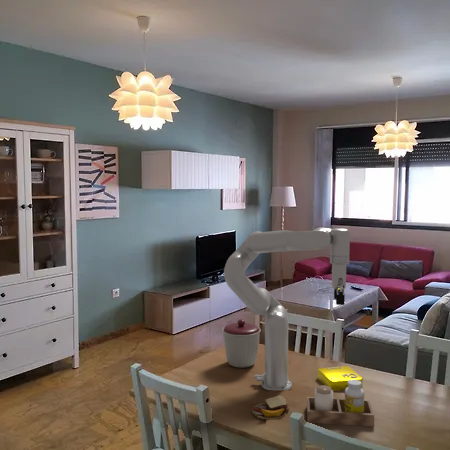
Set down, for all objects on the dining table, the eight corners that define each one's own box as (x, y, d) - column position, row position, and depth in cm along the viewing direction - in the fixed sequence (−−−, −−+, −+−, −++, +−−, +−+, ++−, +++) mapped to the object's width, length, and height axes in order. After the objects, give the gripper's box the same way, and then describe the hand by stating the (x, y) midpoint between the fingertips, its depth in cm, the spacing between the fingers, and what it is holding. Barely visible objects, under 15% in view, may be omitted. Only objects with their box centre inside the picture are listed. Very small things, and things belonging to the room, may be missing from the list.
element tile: (348, 374, 213) (348, 364, 213) (364, 388, 198) (364, 377, 198) (315, 377, 210) (316, 367, 210) (330, 392, 195) (330, 380, 195)
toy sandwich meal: (249, 406, 183) (249, 394, 182) (284, 404, 184) (284, 392, 184) (255, 423, 170) (255, 410, 170) (292, 420, 172) (292, 407, 171)
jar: (314, 419, 171) (315, 391, 170) (314, 410, 177) (314, 384, 176) (333, 420, 170) (333, 392, 169) (331, 411, 176) (332, 385, 175)
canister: (220, 357, 234) (220, 315, 232) (257, 356, 236) (257, 313, 234) (224, 372, 216) (224, 326, 214) (264, 370, 218) (264, 324, 216)
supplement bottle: (341, 413, 175) (342, 378, 174) (359, 412, 176) (360, 377, 174) (348, 422, 168) (348, 386, 167) (366, 421, 169) (367, 385, 168)
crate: (307, 424, 168) (307, 411, 168) (306, 409, 180) (306, 396, 179) (374, 428, 165) (374, 414, 165) (368, 412, 177) (368, 400, 176)
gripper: (328, 256, 202) (328, 296, 203) (331, 262, 185) (331, 306, 186) (346, 256, 201) (346, 297, 202) (351, 263, 184) (351, 307, 185)
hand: (339, 301), depth 194 cm, fingers open, 9 cm apart
